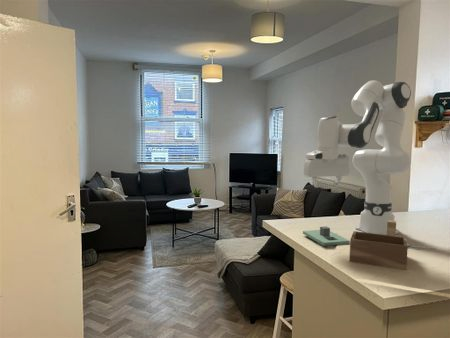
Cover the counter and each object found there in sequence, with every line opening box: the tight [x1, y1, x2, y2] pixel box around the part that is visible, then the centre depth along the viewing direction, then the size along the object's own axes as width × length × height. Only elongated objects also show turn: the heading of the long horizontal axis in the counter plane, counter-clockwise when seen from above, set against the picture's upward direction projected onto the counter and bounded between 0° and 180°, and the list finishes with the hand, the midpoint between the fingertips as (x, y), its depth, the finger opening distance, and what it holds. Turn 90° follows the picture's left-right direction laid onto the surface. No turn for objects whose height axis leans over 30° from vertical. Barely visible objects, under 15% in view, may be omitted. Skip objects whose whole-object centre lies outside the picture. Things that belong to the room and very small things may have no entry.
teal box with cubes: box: [302, 226, 350, 248], centre depth 154 cm, size 12×18×6 cm, turn 15°
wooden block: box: [387, 220, 397, 236], centre depth 136 cm, size 3×3×13 cm
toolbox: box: [349, 230, 409, 271], centre depth 127 cm, size 12×18×9 cm, turn 65°
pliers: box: [407, 243, 437, 251], centre depth 144 cm, size 10×2×15 cm
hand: (326, 186), depth 152 cm, fingers open, 8 cm apart
